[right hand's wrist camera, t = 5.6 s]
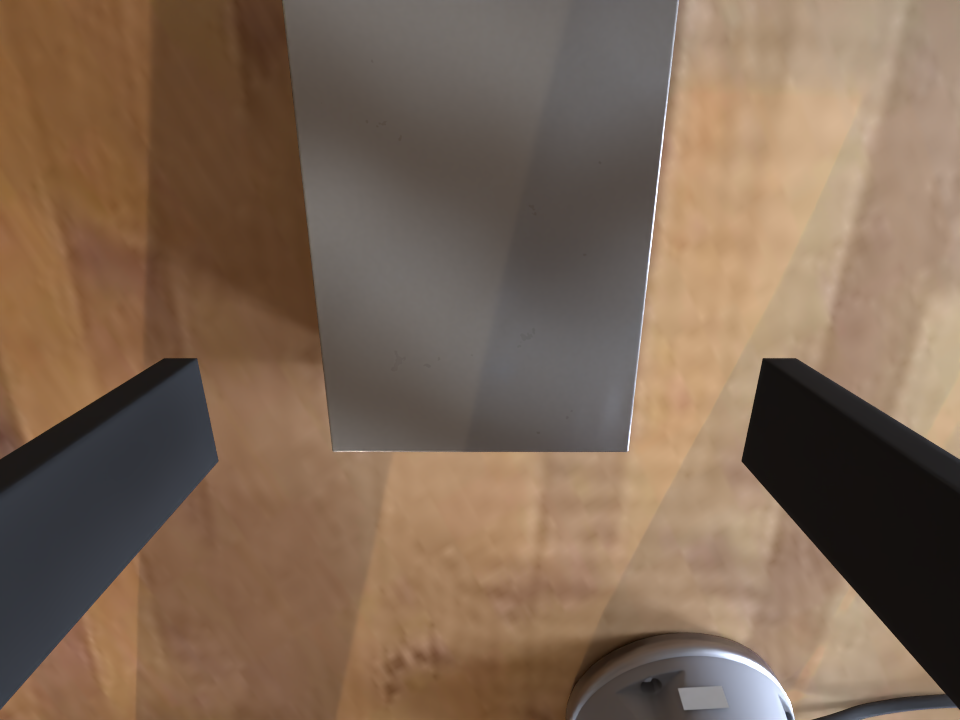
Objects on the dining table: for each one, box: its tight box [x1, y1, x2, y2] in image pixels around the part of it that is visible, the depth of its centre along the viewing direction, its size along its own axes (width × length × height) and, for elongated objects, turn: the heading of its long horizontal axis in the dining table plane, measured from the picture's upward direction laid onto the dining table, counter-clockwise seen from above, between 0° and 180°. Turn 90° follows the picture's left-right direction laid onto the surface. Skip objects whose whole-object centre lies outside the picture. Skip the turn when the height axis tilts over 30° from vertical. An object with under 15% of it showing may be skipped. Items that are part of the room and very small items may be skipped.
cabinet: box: [282, 0, 679, 452], centre depth 20 cm, size 21×11×9 cm, turn 0°
